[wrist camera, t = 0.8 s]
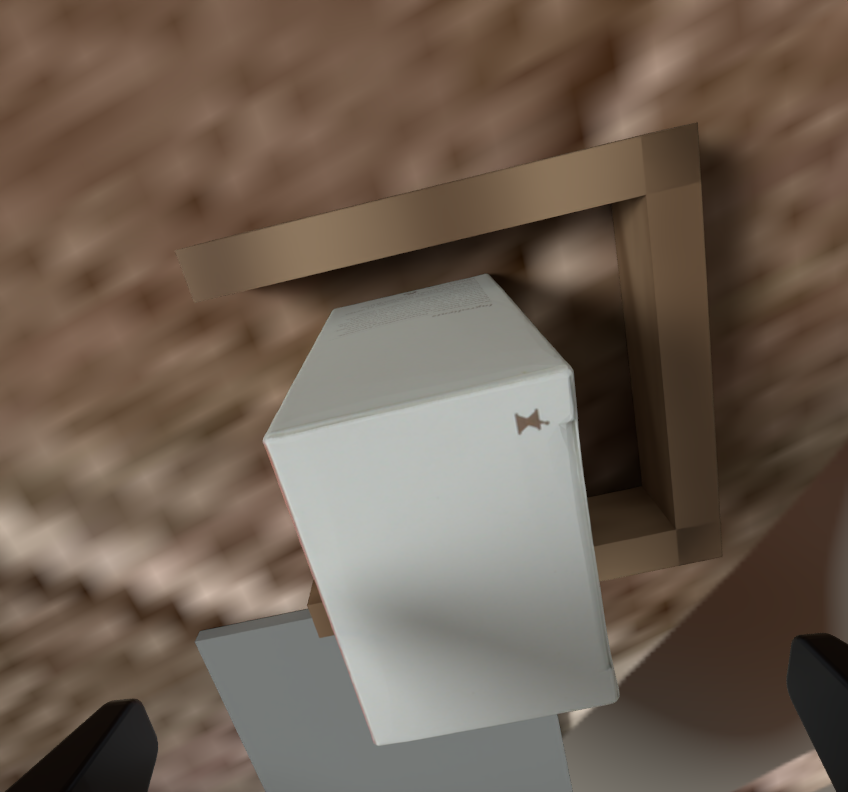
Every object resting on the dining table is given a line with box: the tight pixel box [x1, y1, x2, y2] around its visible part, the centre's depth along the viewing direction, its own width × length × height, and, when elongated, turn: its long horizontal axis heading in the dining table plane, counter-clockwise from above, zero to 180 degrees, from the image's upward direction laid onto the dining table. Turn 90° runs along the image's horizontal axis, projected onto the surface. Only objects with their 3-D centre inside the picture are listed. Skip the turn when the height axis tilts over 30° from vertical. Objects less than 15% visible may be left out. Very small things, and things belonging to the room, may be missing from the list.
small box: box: [263, 274, 619, 746], centre depth 16 cm, size 8×6×10 cm
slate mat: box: [195, 609, 573, 792], centre depth 26 cm, size 14×14×1 cm
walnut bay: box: [175, 122, 722, 638], centre depth 19 cm, size 14×14×3 cm
